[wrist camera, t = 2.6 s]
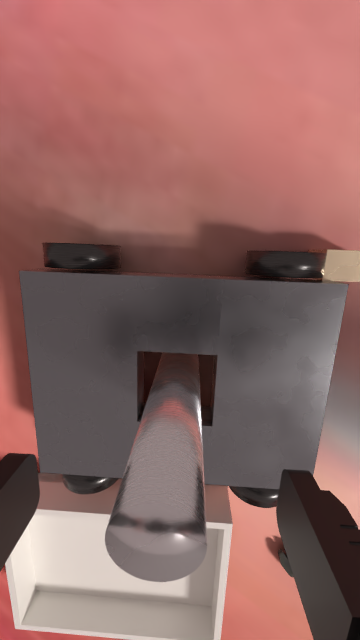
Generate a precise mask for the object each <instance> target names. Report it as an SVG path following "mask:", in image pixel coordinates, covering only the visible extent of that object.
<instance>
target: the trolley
mask: <svg viewBox="0 0 360 640" xmlns="http://www.w3.org/2000/svg"><path fill="white" fill-rule="evenodd" d="M43 252H44V265H45V267H50V268H64V269H117V268H121V259H120V246H113V245H94V244H71V243H43ZM64 269H32V270H22V271H19V274H20V284H21V294H22V303H23V313H24V322H25V332H26V341H27V351H28V360H29V370H30V379H31V389H32V398H33V408H34V417H35V427H36V437H37V446H38V456H39V465H40V472H41V473H55V474H62V481H63V484H64V486H65V487H66V488H67V489H68V490H70V491H71V492H74V493H77V494H94V493H98V492H101V491H103V490H105V489H107V488H109V487H110V486H112V485H113V484H114V483H115V482H116V481H117V480H118V479H119V478H123V475H124V472H125V469H126V465H127V462H128V459H129V456H130V453H131V450H132V447H133V443H134V440H135V437H136V434H137V431H138V428H139V424H140V421H141V418H142V415H143V412H144V409H145V406H146V403H144V351H148V352H167V353H186V354H205V355H214V362H213V376H212V390H211V404H210V406H201V421H202V443H203V465H204V484H210V485H224V486H229V487H230V489H231V490H232V492H233V493H234V494H235V495H236V496H237V497H238V498H240V499H241V500H243V501H244V502H246V503H248V504H250V505H253V506H257V507H262V508H271V507H276V506H277V501H278V494H279V487H280V481H281V474H282V471H283V470H284V469H291V470H308V471H309V472H310V473H311V474H312V476H313V473H314V468H315V462H316V457H317V452H318V446H319V441H320V435H321V430H322V425H323V419H324V414H325V409H326V403H327V398H328V392H329V387H330V382H331V376H332V371H333V366H334V360H335V355H336V349H337V344H338V339H339V333H340V328H341V322H342V317H343V312H344V306H345V301H346V296H347V290H348V285H349V284H344V283H339V282H334V281H344V282H360V251H355V250H308V252H287V251H247V255H246V266H245V273H246V274H252V275H260V276H272V277H287V278H312V279H317V280H310V279H285V278H260V277H236V276H211V275H187V274H162V273H138V272H113V271H89V270H64Z"/></svg>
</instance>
